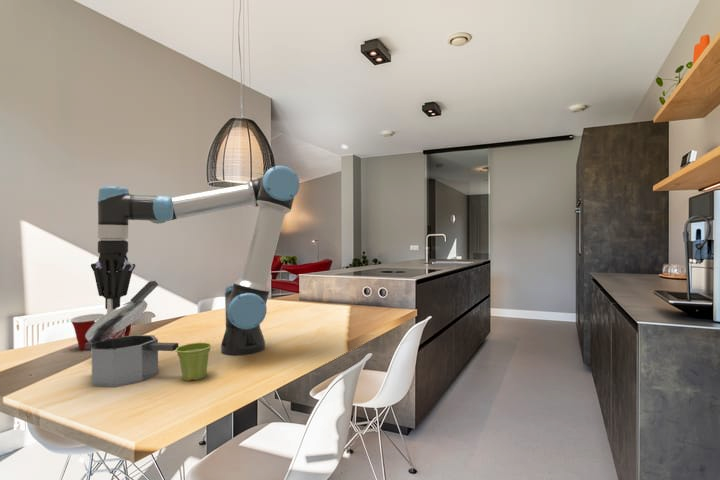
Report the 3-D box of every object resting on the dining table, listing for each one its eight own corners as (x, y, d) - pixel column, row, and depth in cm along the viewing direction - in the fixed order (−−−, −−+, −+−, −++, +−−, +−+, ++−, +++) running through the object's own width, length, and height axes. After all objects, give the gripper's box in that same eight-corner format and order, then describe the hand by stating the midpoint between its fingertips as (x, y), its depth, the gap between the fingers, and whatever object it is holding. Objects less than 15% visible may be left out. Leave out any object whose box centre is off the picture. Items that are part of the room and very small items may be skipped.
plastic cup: (63, 352, 140) (62, 319, 140) (85, 344, 151) (84, 313, 151) (92, 352, 140) (91, 318, 140) (112, 344, 151) (111, 313, 151)
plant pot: (189, 385, 104) (189, 353, 104) (169, 379, 109) (168, 348, 109) (219, 375, 112) (218, 344, 112) (198, 370, 117) (197, 341, 117)
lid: (174, 283, 120) (169, 276, 120) (134, 290, 103) (128, 282, 103) (120, 335, 123) (115, 328, 123) (72, 350, 106) (66, 342, 106)
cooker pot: (192, 368, 118) (191, 335, 118) (157, 388, 103) (156, 350, 103) (110, 366, 123) (109, 334, 123) (64, 385, 107) (64, 348, 107)
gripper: (142, 240, 116) (141, 318, 116) (104, 239, 118) (103, 317, 118) (123, 240, 109) (122, 324, 109) (83, 239, 111) (82, 322, 111)
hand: (112, 320), depth 114 cm, fingers closed
